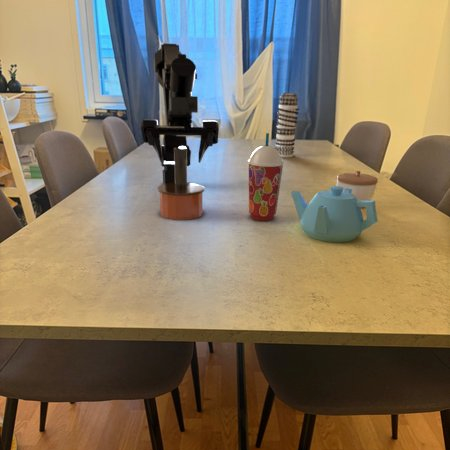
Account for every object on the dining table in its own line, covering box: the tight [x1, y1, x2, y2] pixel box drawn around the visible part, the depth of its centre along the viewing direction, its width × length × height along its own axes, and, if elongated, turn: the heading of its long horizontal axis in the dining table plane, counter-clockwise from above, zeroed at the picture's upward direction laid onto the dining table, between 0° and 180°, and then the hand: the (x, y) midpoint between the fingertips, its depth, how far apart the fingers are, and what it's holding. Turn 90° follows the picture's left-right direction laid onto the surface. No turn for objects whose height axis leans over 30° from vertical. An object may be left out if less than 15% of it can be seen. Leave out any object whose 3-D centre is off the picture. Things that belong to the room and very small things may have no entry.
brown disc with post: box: [157, 147, 205, 196], centre depth 105 cm, size 12×12×11 cm
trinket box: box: [336, 170, 379, 209], centre depth 119 cm, size 11×11×9 cm
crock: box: [158, 192, 203, 221], centre depth 109 cm, size 11×11×6 cm
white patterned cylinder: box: [274, 92, 300, 158], centre depth 186 cm, size 9×9×25 cm
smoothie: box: [247, 132, 284, 222], centre depth 104 cm, size 8×8×20 cm
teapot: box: [290, 185, 379, 243], centre depth 96 cm, size 15×15×11 cm
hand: (180, 161), depth 104 cm, fingers open, 9 cm apart
